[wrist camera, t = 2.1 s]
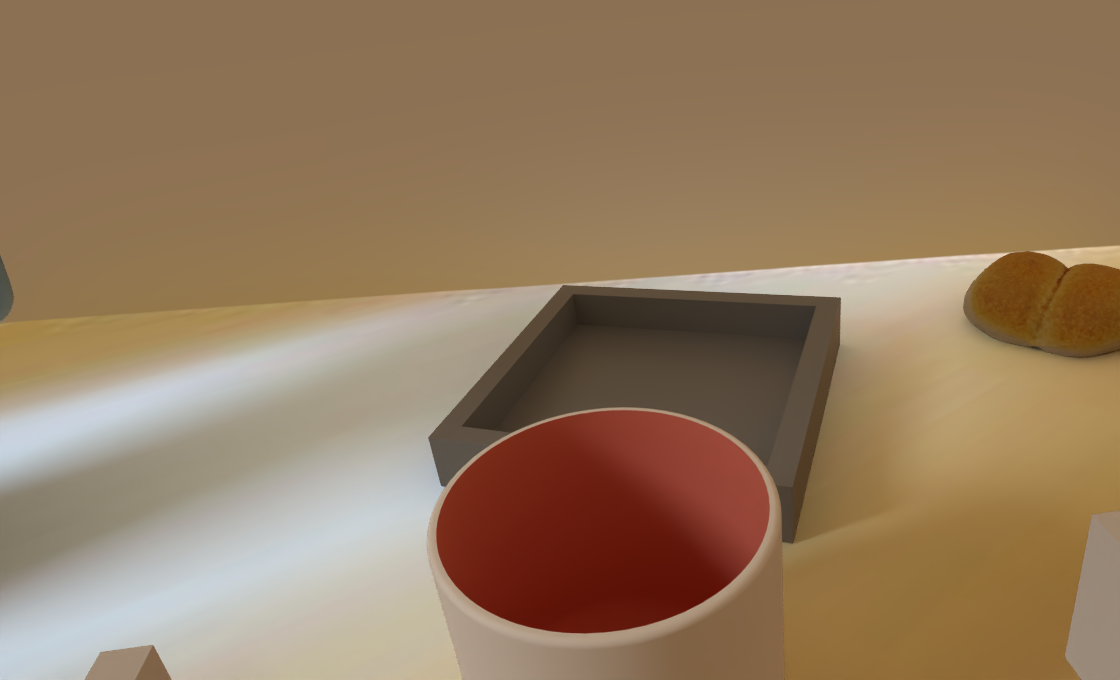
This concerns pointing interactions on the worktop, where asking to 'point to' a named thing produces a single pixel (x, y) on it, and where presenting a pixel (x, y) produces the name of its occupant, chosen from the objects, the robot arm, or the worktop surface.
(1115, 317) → the bread roll
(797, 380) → the tray
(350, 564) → the worktop surface
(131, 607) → the worktop surface
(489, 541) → the cup
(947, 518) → the worktop surface
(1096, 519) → the robot arm
